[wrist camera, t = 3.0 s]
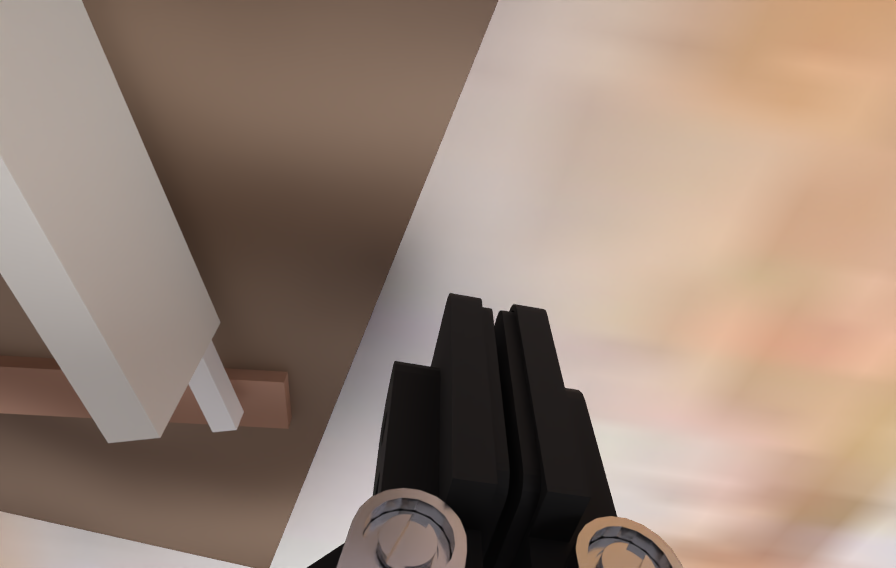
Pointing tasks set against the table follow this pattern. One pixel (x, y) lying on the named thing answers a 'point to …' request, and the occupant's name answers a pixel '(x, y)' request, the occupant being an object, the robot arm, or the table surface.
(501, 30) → the table surface
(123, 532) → the dial board
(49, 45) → the ball-knob lever
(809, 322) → the table surface
